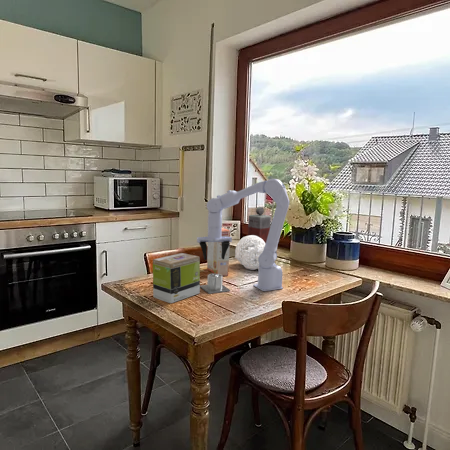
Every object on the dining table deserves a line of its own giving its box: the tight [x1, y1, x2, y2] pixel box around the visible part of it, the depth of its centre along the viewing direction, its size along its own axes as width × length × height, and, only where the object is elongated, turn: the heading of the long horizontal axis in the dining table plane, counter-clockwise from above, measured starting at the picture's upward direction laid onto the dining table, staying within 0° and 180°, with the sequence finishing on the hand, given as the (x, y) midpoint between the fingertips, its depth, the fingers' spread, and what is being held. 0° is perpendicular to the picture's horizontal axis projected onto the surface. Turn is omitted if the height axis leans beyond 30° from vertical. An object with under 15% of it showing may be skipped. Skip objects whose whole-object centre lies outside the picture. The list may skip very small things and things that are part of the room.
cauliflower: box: [234, 235, 265, 271], centre depth 178 cm, size 20×18×16 cm
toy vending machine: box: [247, 206, 272, 244], centre depth 201 cm, size 9×11×28 cm
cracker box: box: [206, 227, 231, 277], centre depth 166 cm, size 14×6×21 cm, turn 22°
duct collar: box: [206, 273, 224, 290], centre depth 143 cm, size 6×6×5 cm
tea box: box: [152, 252, 201, 304], centre depth 133 cm, size 15×10×15 cm, turn 141°
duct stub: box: [200, 275, 231, 295], centre depth 143 cm, size 9×9×6 cm
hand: (214, 259), depth 151 cm, fingers open, 7 cm apart
